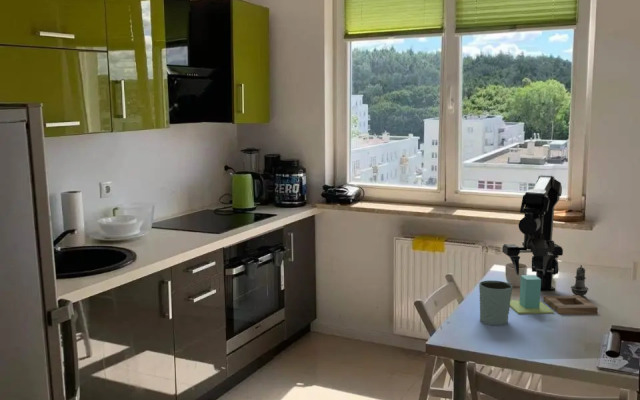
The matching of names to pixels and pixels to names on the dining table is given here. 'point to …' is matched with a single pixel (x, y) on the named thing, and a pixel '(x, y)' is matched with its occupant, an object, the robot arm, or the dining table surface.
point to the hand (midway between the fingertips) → (530, 274)
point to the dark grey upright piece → (580, 283)
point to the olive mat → (521, 310)
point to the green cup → (494, 302)
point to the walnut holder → (580, 306)
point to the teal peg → (530, 291)
